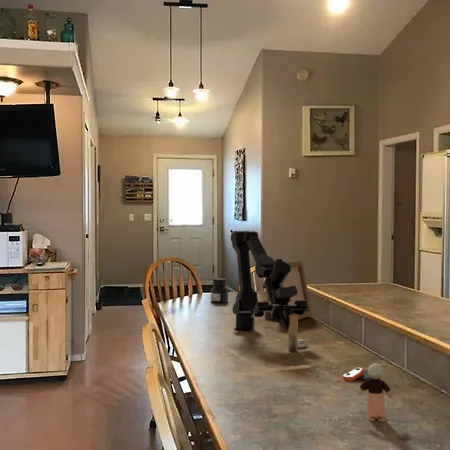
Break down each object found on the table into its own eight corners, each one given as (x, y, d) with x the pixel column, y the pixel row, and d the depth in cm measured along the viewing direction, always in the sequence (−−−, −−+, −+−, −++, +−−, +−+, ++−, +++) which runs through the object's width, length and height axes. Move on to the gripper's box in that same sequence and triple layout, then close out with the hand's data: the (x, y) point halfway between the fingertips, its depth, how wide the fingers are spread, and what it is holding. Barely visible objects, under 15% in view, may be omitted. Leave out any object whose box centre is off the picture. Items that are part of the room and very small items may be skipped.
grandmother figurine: (387, 415, 121) (389, 361, 121) (393, 422, 117) (395, 366, 117) (354, 415, 121) (356, 361, 121) (359, 422, 117) (360, 366, 117)
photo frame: (312, 317, 235) (313, 261, 234) (287, 325, 218) (288, 265, 217) (283, 313, 244) (284, 259, 243) (257, 320, 227) (258, 262, 226)
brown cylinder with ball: (282, 350, 174) (283, 314, 173) (289, 343, 184) (290, 309, 183) (302, 352, 172) (302, 316, 171) (307, 345, 182) (308, 310, 181)
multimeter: (319, 389, 141) (319, 376, 140) (310, 375, 153) (311, 363, 152) (386, 389, 141) (386, 377, 141) (372, 375, 153) (372, 364, 153)
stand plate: (263, 342, 188) (263, 336, 188) (300, 339, 193) (300, 333, 193) (288, 357, 169) (288, 350, 169) (329, 353, 174) (329, 346, 174)
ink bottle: (207, 301, 274) (208, 278, 274) (223, 300, 278) (223, 277, 278) (215, 304, 265) (215, 280, 265) (231, 303, 269) (231, 279, 269)
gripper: (257, 277, 176) (269, 317, 166) (306, 276, 182) (321, 314, 172) (248, 297, 184) (259, 336, 174) (296, 295, 190) (309, 333, 180)
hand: (287, 329), depth 175 cm, fingers closed
